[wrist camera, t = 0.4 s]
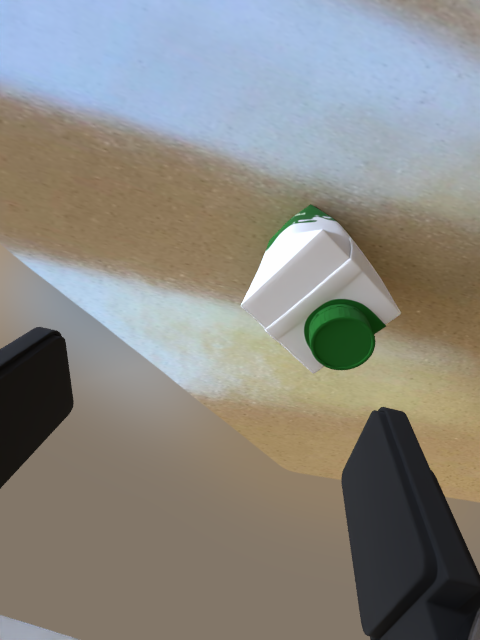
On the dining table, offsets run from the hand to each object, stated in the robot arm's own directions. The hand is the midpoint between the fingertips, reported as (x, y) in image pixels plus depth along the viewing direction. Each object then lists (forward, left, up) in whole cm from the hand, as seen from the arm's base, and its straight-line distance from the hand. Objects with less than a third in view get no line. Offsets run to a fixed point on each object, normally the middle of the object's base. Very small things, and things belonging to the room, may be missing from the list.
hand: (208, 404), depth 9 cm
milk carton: (+2, +4, -31) cm, 31 cm away
